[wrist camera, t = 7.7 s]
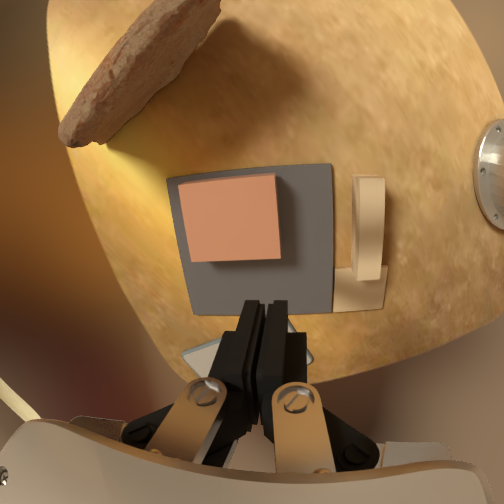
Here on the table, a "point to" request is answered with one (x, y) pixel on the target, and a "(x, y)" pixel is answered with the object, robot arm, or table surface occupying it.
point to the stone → (137, 68)
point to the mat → (269, 270)
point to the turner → (364, 249)
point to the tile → (232, 218)
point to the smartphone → (213, 355)
